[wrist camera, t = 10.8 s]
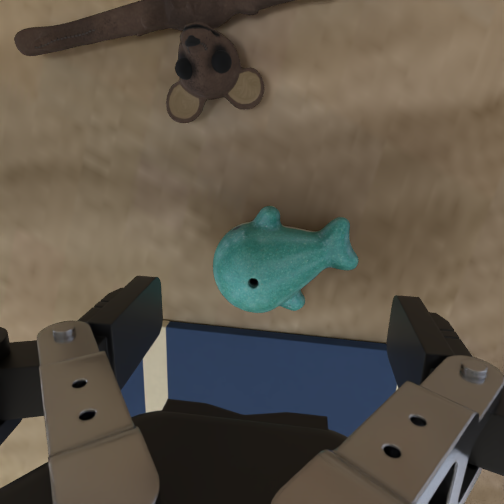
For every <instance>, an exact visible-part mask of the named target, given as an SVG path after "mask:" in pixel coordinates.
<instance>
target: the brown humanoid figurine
mask: <svg viewBox="0 0 504 504" xmlns="http://www.w3.org/2000/svg"><path fill="white" fill-rule="evenodd" d="M291 1H295V0H141V1H138V2H135V3H131V4H128V5H125V6H122V7H118V8H115V9H112V10H109V11H106V12H102V13H99V14H96V15H93V16H89V17H86V18H83V19H79V20H76V21H72V22H69V23H65V24H60V25H55V26H46V27H33V28H27V29H23V30H21V31H19V32H18V33H17V34H16V35H15V38H14V41H15V44H16V46H17V48H18V50H19V51H20V52H21V53H22V54H24V55H27V56H36V55H42V54H46V53H51V52H57V51H62V50H66V49H70V48H73V47H77V46H82V45H88V44H93V43H97V42H101V41H105V40H110V39H115V38H120V37H126V36H132V35H137V36H142V35H144V34H147V33H149V32H153V31H157V30H162V29H167V28H172V29H178V30H182V31H183V32H182V33H181V35H180V40H181V43H180V45H179V52H178V61H177V62H176V66H175V70H176V73H177V75H178V76H179V77H180V80H179V81H178V82H177V83H175V84H173V85H172V86H171V88H170V89H169V92H168V95H167V102H166V105H167V111H168V114H169V116H170V117H171V118H172V119H173V120H175V121H176V122H180V123H189V122H191V121H193V120H195V119H196V118H197V117H198V116H199V115H200V113H201V112H202V110H203V107H204V104H205V102H206V100H207V99H216V98H220V97H225V98H226V99H227V100H228V101H229V102H230V103H231V104H233V105H234V106H235V107H237V108H239V109H243V110H245V109H250V108H253V107H255V106H256V105H257V104H258V103H259V102H260V101H261V99H262V97H263V94H264V83H263V80H262V77H261V76H260V74H259V73H258V71H257V70H255V69H254V68H242V67H241V64H240V60H239V56H238V53H237V50H236V48H235V47H234V45H233V44H232V43H231V42H230V41H229V40H228V39H227V38H226V37H225V36H223V35H222V34H221V33H219V32H218V31H216V30H214V29H213V28H217V27H219V26H221V25H222V24H223V23H225V22H226V21H227V20H228V19H230V18H231V17H232V16H233V15H235V14H238V13H241V14H246V15H255V14H257V13H258V10H260V9H264V8H268V7H271V6H274V5H278V4H282V3H286V2H291Z"/></svg>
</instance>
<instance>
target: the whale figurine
mask: <svg viewBox="0 0 504 504" xmlns="http://www.w3.org/2000/svg"><path fill="white" fill-rule="evenodd" d="M349 230H350V223H349V221H348V220H347V219H346V218H344V217H337V218H335V219H334V220H332V221H331V222H329V223H328V224H327V225H326V226H325V227H324V228H323V229H321V230H320V231H309V230H304V229H300V228H295V227H289V226H284V225H282V224H281V222H280V213H279V211H278V209H277V208H275V207H274V206H266V207H264V208H262V209H261V211H260V212H259V213H258V215H257V216H256V218H255V219H254V220H253V221H252V222H245V223H242V224H239V225H237V226H236V227H234V228H233V229H231V230H230V231H229V232H228V233H227V234H226V235H225V236H224V237H223V238H222V240H221V241H220V243H219V244H218V246H217V248H216V251H215V254H214V260H213V272H214V278H215V281H216V284H217V286H218V288H219V290H220V292H221V293H222V295H223V296H224V297H225V298H226V299H227V300H228V301H229V302H230V303H231V304H232V305H234V306H236V307H238V308H240V309H242V310H245V311H248V312H254V313H263V312H267V311H270V310H272V309H274V308H276V307H278V306H281V307H284V308H286V309H289V310H293V311H296V310H299V309H300V308H302V307H303V306H304V303H305V297H304V296H303V294H302V293H301V288H303V287H304V286H305V285H307V284H308V283H309V282H310V281H311V280H313V279H314V278H315V277H316V276H317V275H318V274H319V273H320V272H321V271H322V270H324V269H325V268H328V267H332V268H336V269H340V270H352V269H354V268H356V266H357V264H358V256H357V255H356V253H355V252H354V250H353V248H352V246H351V243H350V240H349Z"/></svg>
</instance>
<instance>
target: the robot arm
mask: <svg viewBox="0 0 504 504" xmlns="http://www.w3.org/2000/svg"><path fill="white" fill-rule="evenodd" d="M162 322H163V314H162V295H161V282H160V279H159V278H158V277H148V276H136V277H135V278H134V279H133V280H132V281H131V282H130V283H128V284H127V285H126V286H125V287H124V288H120V289H117V290H115V291H113V292H111V293H109V294H107V295H106V296H105V297H104V298H103V299H102V300H101V302H98V303H97V304H96V305H95V306H94V307H93V308H91V309H90V310H89V311H88V312H87V313H86V314H85V315H83V316H82V317H81V318H80V319H79V320H78V321H64V322H59V323H55V324H52V325H50V326H48V327H46V328H44V329H43V330H41V331H40V332H39V333H38V335H37V340H35V341H24V342H13V343H9V338H8V332H7V330H6V329H4V328H2V327H0V445H1V444H2V443H3V442H4V440H5V439H6V438H7V437H8V436H9V435H10V433H11V432H12V431H13V430H14V429H15V428H16V426H17V425H18V424H19V423H20V422H21V420H22V418H29V417H37V416H44V418H45V427H46V436H47V445H48V454H49V457H48V462H47V463H45V464H43V465H42V466H40V467H38V468H36V469H34V470H33V471H31V472H29V473H27V474H25V475H24V476H22V477H20V478H18V479H16V480H15V481H13V482H11V483H9V484H7V485H6V486H4V487H2V488H0V504H464V503H465V501H466V499H467V497H468V495H469V494H470V492H471V490H472V488H473V486H474V484H475V483H476V481H477V479H478V477H479V475H480V473H481V471H482V468H483V469H485V470H488V471H491V472H494V473H497V474H500V475H502V476H504V375H503V373H502V372H501V371H500V370H499V369H498V368H496V367H495V366H493V365H492V364H490V363H488V362H486V361H483V360H481V359H478V358H475V357H472V355H471V354H470V352H469V351H468V349H467V348H466V347H465V345H464V344H463V342H462V341H461V339H459V336H458V335H457V334H456V332H454V329H453V328H452V326H451V325H450V323H449V322H448V321H447V320H445V319H444V318H442V317H441V316H440V315H438V314H437V313H430V312H428V310H427V309H426V307H425V305H424V304H423V302H422V301H421V299H420V298H419V297H410V296H397V295H395V296H394V298H393V302H392V308H391V315H390V322H389V328H388V335H387V355H388V359H389V362H390V365H391V368H392V371H393V374H394V377H395V380H396V383H397V386H398V389H397V390H396V391H395V392H394V393H393V394H392V395H391V396H390V397H389V398H388V399H387V400H386V401H385V402H384V403H383V404H382V405H381V406H380V407H379V408H378V409H377V410H376V411H375V412H374V413H373V414H372V415H371V416H370V417H368V418H367V419H366V420H365V421H364V422H363V423H362V424H361V425H360V426H359V427H358V428H357V429H356V430H355V431H354V432H353V433H352V434H351V435H350V436H349V437H347V436H345V435H342V434H340V433H338V432H335V431H332V430H329V429H328V419H327V416H319V415H310V414H301V413H292V412H279V413H265V414H252V415H243V414H239V413H236V412H233V411H229V410H226V409H223V408H220V407H217V406H214V405H210V404H207V403H201V402H192V401H183V400H174V399H167V401H166V403H165V405H164V407H163V409H162V410H159V411H152V412H147V413H143V414H139V415H136V416H133V417H131V416H130V413H129V411H128V408H127V406H126V403H125V401H124V398H123V396H122V393H121V390H122V388H123V387H124V385H125V384H126V383H127V381H128V380H129V378H130V377H131V375H132V374H133V372H134V371H135V369H136V368H137V367H138V365H139V364H140V362H141V361H142V359H143V358H144V356H145V355H146V353H147V352H148V351H149V349H150V348H151V346H152V345H153V343H154V342H155V340H156V339H157V337H158V336H159V334H160V332H161V328H162Z"/></svg>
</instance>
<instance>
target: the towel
mask: <svg viewBox="0 0 504 504" xmlns="http://www.w3.org/2000/svg"><path fill="white" fill-rule="evenodd" d="M397 389H398V386H397V383H396V380H395V377H394V374H393V371H392V368H391V365H390V362H389V359H388V355H387V344H383V343H373V342H363V341H354V340H344V339H335V338H325V337H316V336H306V335H296V334H287V333H277V332H268V331H258V330H249V329H239V328H229V327H220V326H210V325H201V324H191V323H182V322H172V321H165V320H163V322H162V328H161V332H160V334H159V336H158V337H157V339H156V340H155V342H154V343H153V345H152V346H151V348H150V349H149V351H148V352H147V353H146V355H145V356H144V358H143V359H142V361H141V362H140V364H139V365H138V367H137V368H136V369H135V371H134V372H133V374H132V375H131V377H130V378H129V380H128V381H127V383H126V384H125V385H124V387H123V388H122V390H121V393H122V396H123V398H124V401H125V403H126V406H127V408H128V411H129V413H130V416H131V417H133V416H136V415H139V414H143V413H147V412H152V411H159V410H162V409H163V407H164V405H165V403H166V401H167V399H174V400H183V401H192V402H201V403H207V404H210V405H214V406H217V407H220V408H223V409H226V410H229V411H233V412H236V413H239V414H243V415H252V414H265V413H279V412H292V413H301V414H310V415H319V416H327V419H328V429H329V430H332V431H335V432H338V433H340V434H342V435H345V436H347V437H349V436H350V435H351V434H352V433H353V432H354V431H355V430H356V429H357V428H358V427H359V426H360V425H361V424H362V423H363V422H364V421H365V420H366V419H367V418H368V417H370V416H371V415H372V414H373V413H374V412H375V411H376V410H377V409H378V408H379V407H380V406H381V405H382V404H383V403H384V402H385V401H386V400H387V399H388V398H389V397H390V396H391V395H392V394H393V393H394V392H395V391H396V390H397Z"/></svg>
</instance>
